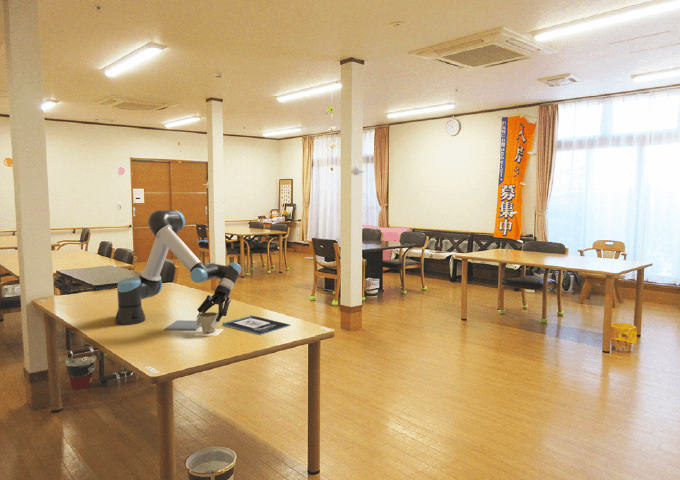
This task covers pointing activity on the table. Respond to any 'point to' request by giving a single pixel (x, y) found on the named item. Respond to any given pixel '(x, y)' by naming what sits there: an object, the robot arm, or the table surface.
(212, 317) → the flower pot
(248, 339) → the table surface
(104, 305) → the table surface
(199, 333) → the letter tile
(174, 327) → the rubber mat
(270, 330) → the sketchbook
